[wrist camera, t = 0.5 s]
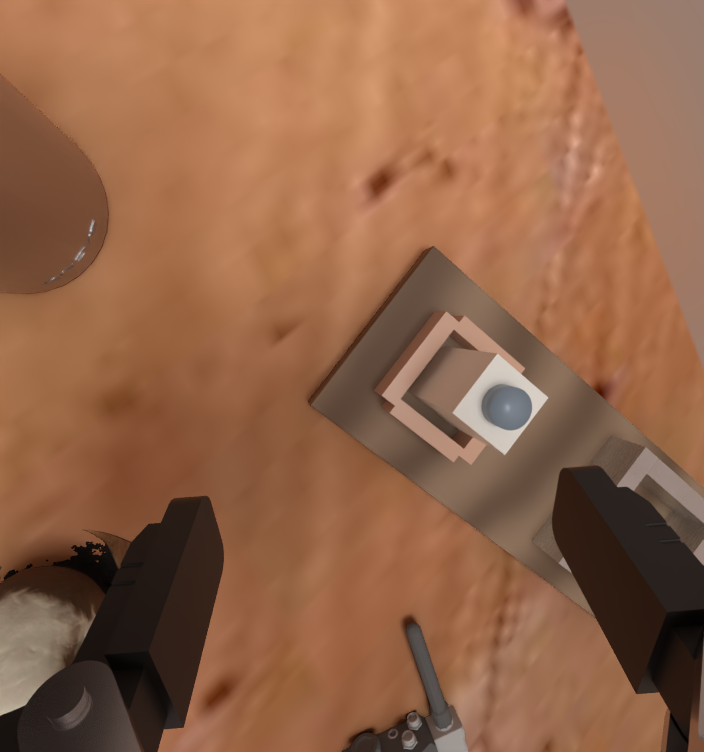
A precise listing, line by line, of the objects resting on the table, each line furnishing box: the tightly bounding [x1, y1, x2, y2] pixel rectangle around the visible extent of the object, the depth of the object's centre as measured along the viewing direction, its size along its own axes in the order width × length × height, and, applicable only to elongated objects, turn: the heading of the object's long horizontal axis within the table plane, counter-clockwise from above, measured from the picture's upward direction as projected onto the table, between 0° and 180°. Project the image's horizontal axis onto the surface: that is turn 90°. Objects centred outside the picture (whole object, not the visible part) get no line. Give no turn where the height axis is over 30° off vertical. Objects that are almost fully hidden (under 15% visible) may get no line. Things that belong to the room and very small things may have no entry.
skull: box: [0, 530, 130, 715], centre depth 27 cm, size 12×10×10 cm
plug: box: [408, 346, 548, 455], centre depth 25 cm, size 4×4×8 cm
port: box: [532, 436, 704, 573], centre depth 31 cm, size 9×9×3 cm
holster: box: [374, 311, 525, 465], centre depth 28 cm, size 7×7×2 cm
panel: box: [308, 246, 704, 617], centre depth 32 cm, size 28×12×2 cm, turn 52°
